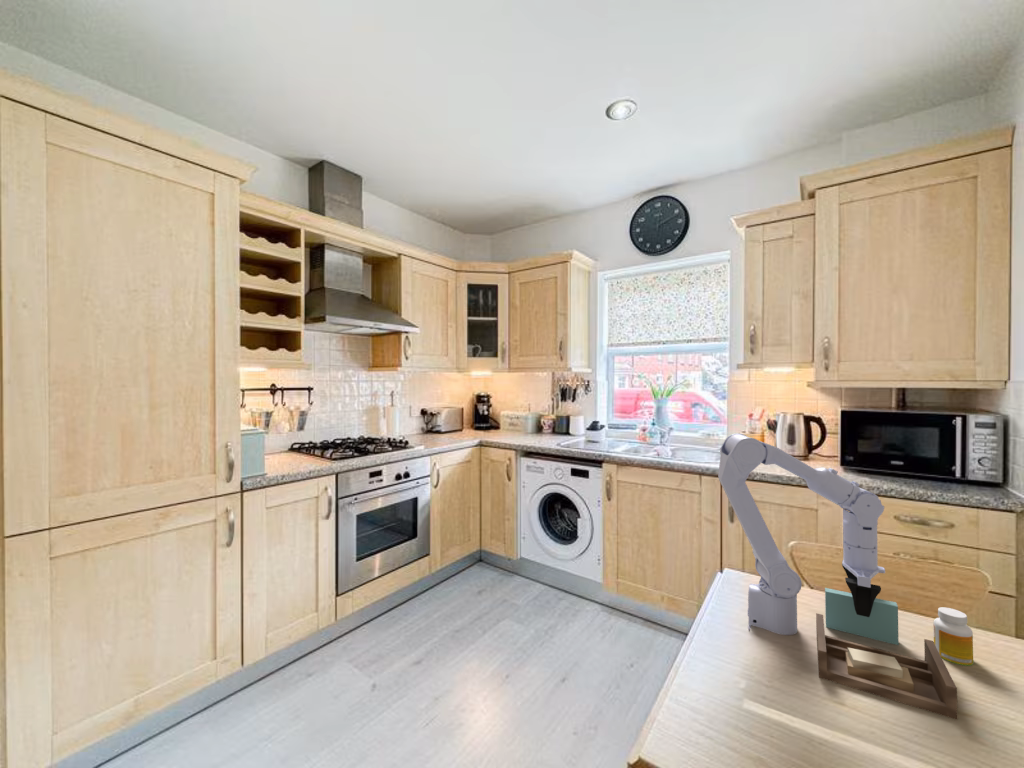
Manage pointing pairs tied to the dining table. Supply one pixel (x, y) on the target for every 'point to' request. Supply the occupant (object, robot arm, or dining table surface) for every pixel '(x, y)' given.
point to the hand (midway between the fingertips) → (860, 607)
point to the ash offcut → (875, 662)
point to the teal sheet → (862, 617)
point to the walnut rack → (927, 676)
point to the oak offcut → (883, 677)
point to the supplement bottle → (953, 636)
